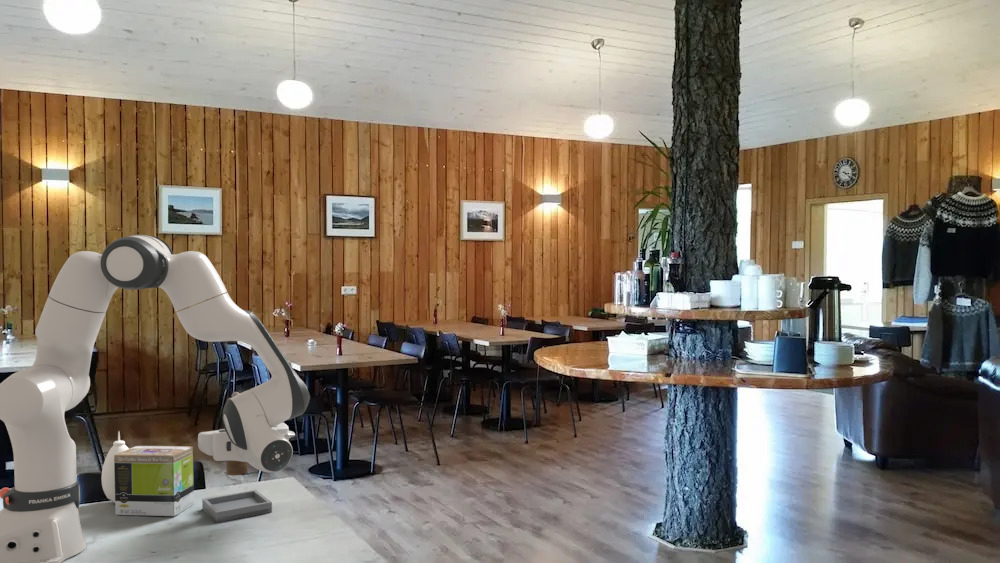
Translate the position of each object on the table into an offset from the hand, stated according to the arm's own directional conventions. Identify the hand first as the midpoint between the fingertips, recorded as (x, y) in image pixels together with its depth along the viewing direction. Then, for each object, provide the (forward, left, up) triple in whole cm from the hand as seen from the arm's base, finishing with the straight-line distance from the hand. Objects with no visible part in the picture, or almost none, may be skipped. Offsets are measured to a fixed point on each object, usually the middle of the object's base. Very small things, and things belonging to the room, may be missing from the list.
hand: (235, 430), depth 186 cm
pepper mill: (0, -1, -10) cm, 10 cm away
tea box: (-16, +11, -20) cm, 28 cm away
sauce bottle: (-22, +22, -19) cm, 37 cm away
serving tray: (0, -1, -19) cm, 19 cm away
